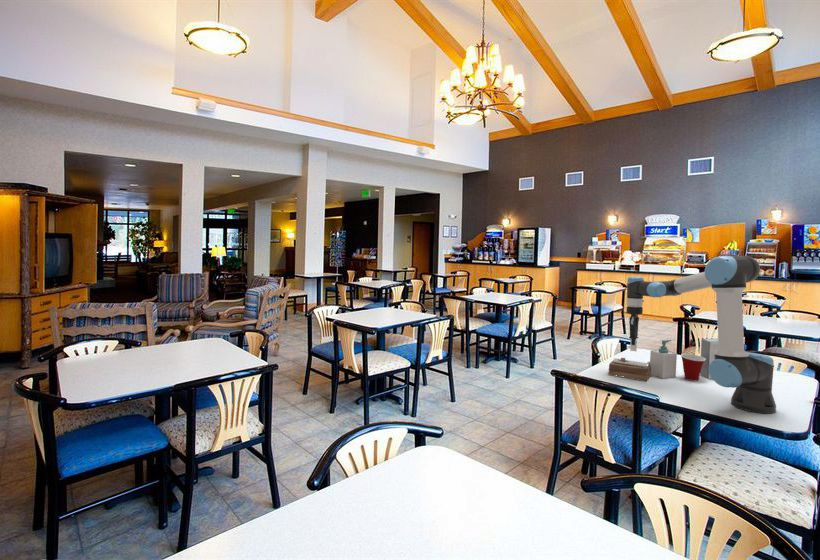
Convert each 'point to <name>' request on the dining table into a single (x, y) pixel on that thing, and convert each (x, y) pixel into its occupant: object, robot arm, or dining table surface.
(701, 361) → the plastic cup
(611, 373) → the walnut box
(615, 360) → the steel hasp
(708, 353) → the hard drive box
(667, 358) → the soap bottle
